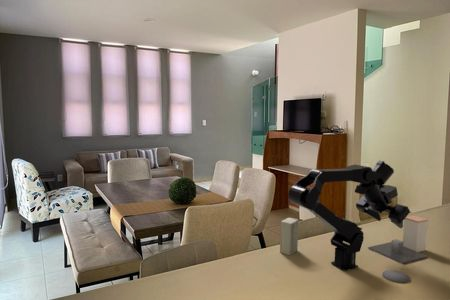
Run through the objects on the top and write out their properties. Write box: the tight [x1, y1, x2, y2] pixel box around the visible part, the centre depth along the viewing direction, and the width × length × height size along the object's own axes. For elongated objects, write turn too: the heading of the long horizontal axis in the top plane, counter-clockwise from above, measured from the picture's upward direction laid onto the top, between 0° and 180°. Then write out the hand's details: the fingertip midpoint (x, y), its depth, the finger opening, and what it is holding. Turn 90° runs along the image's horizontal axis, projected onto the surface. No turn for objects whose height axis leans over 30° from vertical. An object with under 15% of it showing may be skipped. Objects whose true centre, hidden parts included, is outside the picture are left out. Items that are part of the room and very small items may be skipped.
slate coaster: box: [381, 269, 411, 284], centre depth 111 cm, size 8×8×1 cm
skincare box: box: [279, 217, 300, 256], centre depth 130 cm, size 6×4×12 cm
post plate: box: [367, 239, 428, 265], centre depth 130 cm, size 13×15×5 cm
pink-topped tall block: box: [402, 215, 429, 253], centre depth 134 cm, size 6×6×12 cm
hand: (390, 223), depth 127 cm, fingers open, 9 cm apart
